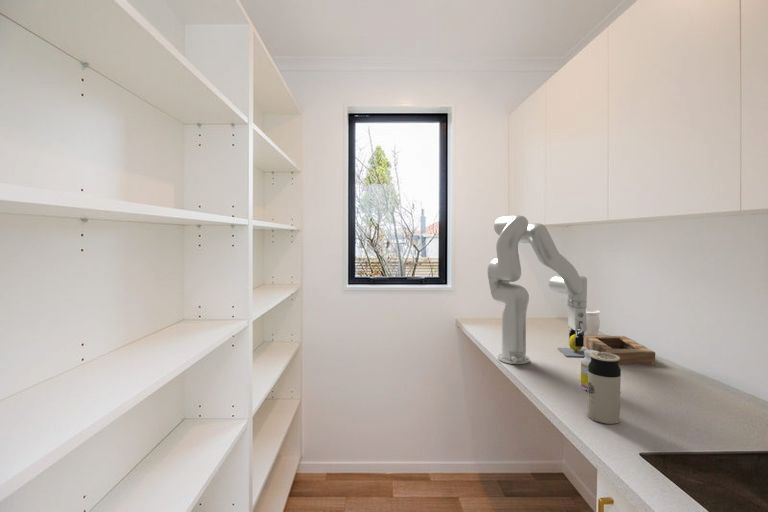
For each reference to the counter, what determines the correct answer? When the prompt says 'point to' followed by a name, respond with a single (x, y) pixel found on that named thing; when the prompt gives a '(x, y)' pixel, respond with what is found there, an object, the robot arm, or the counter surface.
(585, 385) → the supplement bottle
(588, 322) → the jar
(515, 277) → the robot arm
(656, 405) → the counter surface
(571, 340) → the lemon
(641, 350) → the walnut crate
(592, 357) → the travel mug
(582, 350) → the grey mat
